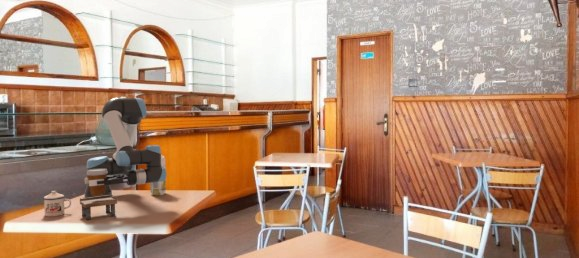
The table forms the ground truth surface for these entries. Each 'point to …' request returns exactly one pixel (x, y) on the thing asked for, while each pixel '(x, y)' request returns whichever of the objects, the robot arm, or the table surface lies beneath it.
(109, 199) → the peg shelf
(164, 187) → the juice carton
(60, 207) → the teacup with lid
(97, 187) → the disposable coffee cup
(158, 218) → the table surface
